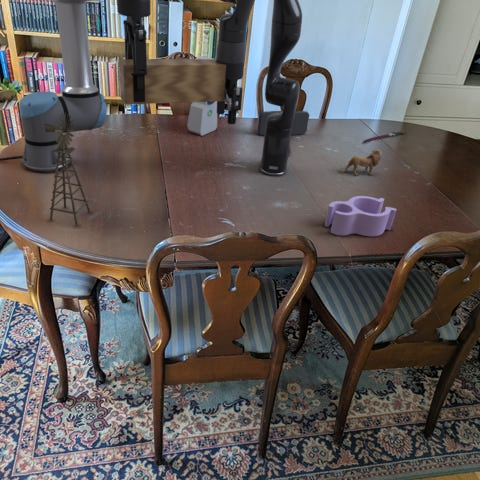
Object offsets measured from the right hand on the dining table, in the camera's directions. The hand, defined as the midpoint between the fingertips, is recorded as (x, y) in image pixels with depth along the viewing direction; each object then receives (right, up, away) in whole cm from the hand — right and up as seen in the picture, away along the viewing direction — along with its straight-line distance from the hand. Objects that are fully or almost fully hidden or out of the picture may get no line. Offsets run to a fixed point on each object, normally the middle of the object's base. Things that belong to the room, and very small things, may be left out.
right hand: (225, 118), depth 131 cm
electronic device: (-12, +12, +69) cm, 71 cm away
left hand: (-22, +2, -13) cm, 26 cm away
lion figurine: (+50, -9, +47) cm, 69 cm away
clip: (+40, -30, +11) cm, 51 cm away
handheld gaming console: (+22, +12, +74) cm, 79 cm away
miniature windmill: (-44, -28, +1) cm, 52 cm away
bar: (-14, +3, -9) cm, 16 cm away
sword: (+71, +12, +83) cm, 109 cm away
